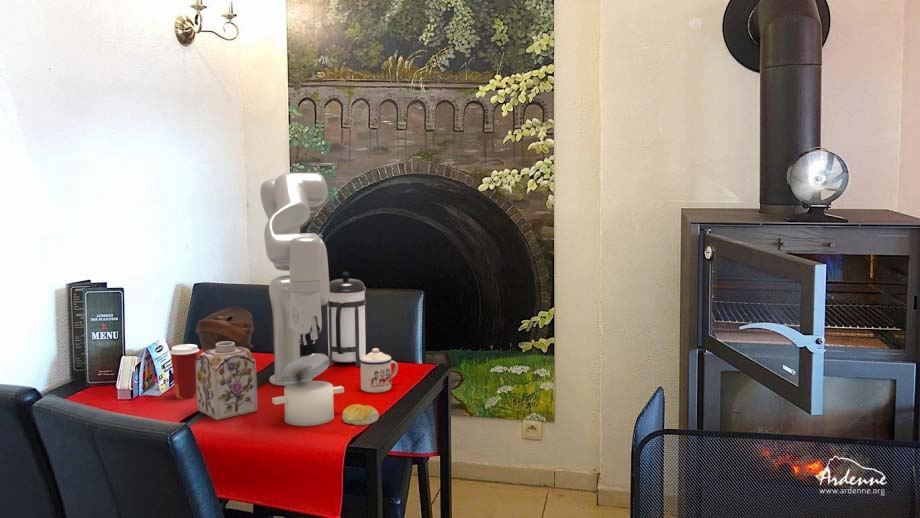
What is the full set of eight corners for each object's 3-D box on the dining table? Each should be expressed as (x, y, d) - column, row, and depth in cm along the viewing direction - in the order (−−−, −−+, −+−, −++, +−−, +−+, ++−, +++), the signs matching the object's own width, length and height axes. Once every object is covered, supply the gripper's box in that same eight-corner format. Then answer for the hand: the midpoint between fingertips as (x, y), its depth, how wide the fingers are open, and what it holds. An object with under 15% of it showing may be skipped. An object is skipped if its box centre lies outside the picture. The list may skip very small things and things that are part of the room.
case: (204, 376, 230) (202, 318, 228) (191, 363, 247) (189, 308, 245) (262, 369, 239) (261, 313, 237) (246, 357, 256) (245, 305, 254)
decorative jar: (238, 401, 205) (236, 336, 203) (259, 411, 196) (256, 343, 194) (195, 410, 197) (192, 343, 195) (215, 421, 188) (212, 350, 186)
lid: (276, 385, 191) (274, 379, 192) (321, 378, 198) (319, 372, 199) (289, 360, 182) (286, 353, 183) (335, 353, 189) (333, 347, 190)
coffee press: (313, 362, 248) (311, 271, 245) (356, 355, 257) (354, 267, 254) (337, 373, 234) (335, 277, 231) (382, 365, 243) (381, 273, 240)
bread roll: (356, 413, 195) (356, 398, 194) (383, 419, 190) (383, 403, 189) (334, 422, 188) (334, 406, 187) (362, 428, 183) (362, 412, 183)
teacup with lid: (371, 395, 210) (371, 354, 209) (354, 388, 217) (353, 348, 216) (406, 387, 218) (406, 347, 217) (388, 380, 225) (387, 342, 224)
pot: (265, 418, 190) (264, 387, 189) (332, 405, 200) (331, 376, 200) (283, 432, 180) (283, 399, 179) (353, 417, 190) (352, 386, 190)
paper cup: (206, 393, 212) (205, 344, 211) (188, 401, 205) (186, 350, 203) (183, 391, 215) (181, 342, 213) (165, 398, 207) (162, 348, 206)
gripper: (279, 284, 190) (281, 355, 193) (303, 292, 178) (305, 368, 181) (307, 281, 195) (309, 351, 197) (332, 289, 182) (333, 363, 185)
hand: (307, 359), depth 189 cm, fingers closed
